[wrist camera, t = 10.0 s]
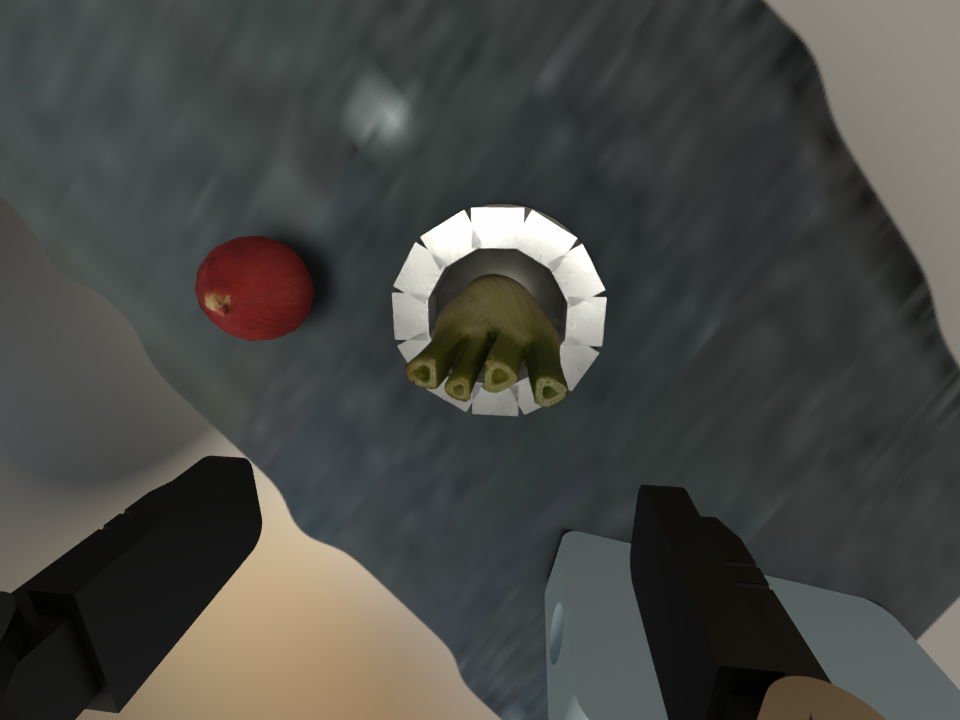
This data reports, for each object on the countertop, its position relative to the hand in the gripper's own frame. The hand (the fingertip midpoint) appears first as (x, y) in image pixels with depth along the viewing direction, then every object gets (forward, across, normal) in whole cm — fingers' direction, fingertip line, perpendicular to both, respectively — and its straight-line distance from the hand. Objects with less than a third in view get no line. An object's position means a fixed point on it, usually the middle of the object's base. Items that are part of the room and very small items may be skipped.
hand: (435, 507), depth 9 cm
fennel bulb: (+19, 0, 0) cm, 19 cm away
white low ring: (+20, 0, 0) cm, 20 cm away
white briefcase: (+20, -16, +21) cm, 33 cm away
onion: (+20, +14, -2) cm, 24 cm away
